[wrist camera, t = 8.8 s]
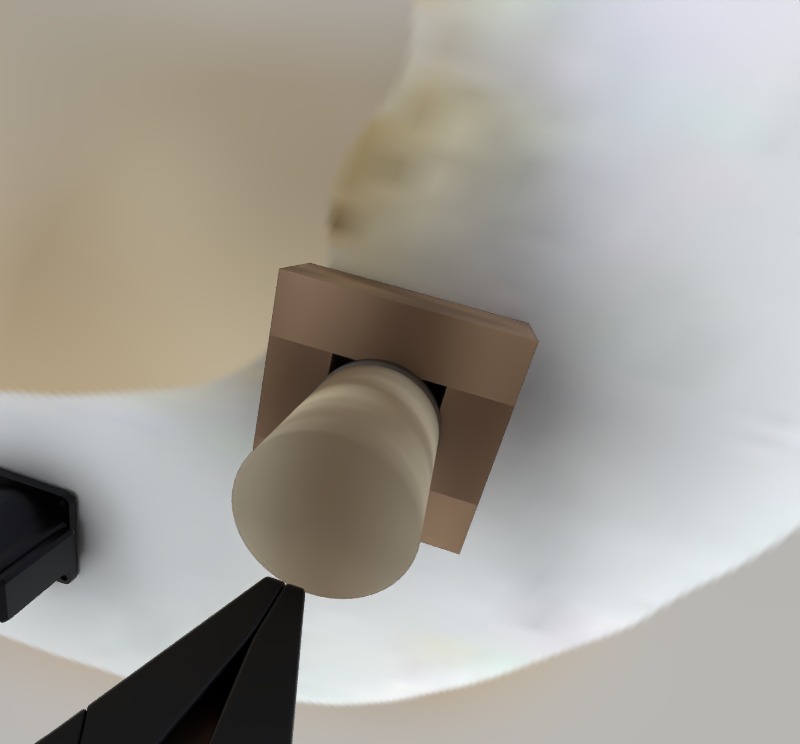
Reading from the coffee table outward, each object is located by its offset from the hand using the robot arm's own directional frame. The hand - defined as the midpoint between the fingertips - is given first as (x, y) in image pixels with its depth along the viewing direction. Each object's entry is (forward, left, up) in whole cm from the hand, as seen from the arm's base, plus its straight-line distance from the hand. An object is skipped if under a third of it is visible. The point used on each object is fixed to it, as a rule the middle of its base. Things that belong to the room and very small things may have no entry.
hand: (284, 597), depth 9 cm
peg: (0, 0, -12) cm, 12 cm away
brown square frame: (0, 0, -12) cm, 12 cm away
